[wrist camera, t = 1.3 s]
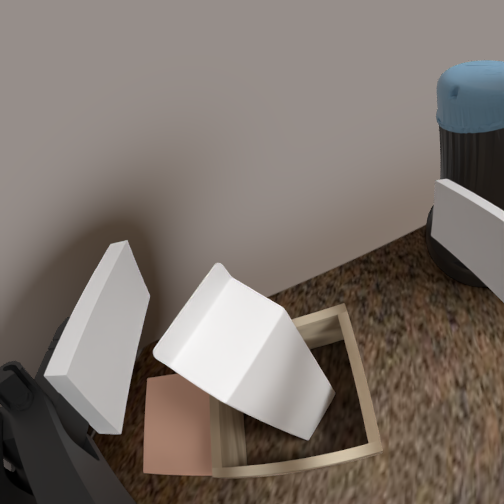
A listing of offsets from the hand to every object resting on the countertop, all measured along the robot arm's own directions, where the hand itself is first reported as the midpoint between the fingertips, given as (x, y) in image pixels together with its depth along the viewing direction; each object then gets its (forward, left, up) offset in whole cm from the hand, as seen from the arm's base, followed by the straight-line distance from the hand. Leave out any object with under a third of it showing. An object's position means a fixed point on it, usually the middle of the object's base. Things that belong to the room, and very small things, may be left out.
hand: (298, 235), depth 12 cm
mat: (+21, 0, -24) cm, 32 cm away
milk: (+6, 0, -24) cm, 25 cm away
